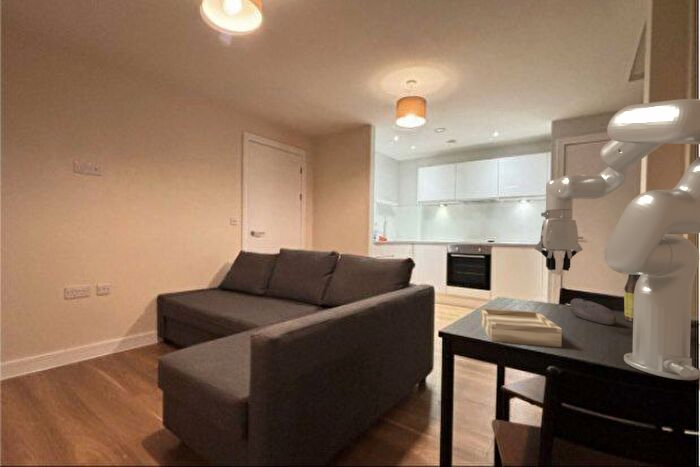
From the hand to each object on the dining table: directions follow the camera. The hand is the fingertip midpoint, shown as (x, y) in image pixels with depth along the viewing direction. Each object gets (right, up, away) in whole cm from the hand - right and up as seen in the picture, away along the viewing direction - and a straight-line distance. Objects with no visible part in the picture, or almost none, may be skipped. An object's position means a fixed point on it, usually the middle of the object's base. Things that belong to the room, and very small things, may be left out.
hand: (557, 269), depth 105 cm
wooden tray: (-19, -19, -8) cm, 28 cm away
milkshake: (0, -2, 0) cm, 2 cm away
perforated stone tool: (+17, -19, +6) cm, 26 cm away
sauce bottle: (+32, -20, +6) cm, 38 cm away
